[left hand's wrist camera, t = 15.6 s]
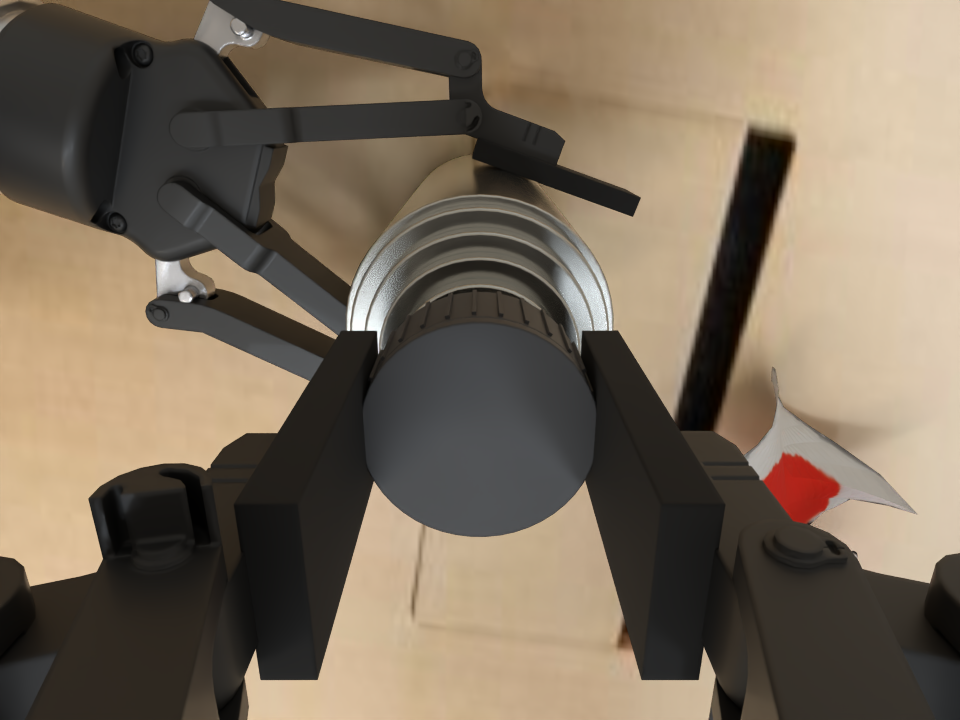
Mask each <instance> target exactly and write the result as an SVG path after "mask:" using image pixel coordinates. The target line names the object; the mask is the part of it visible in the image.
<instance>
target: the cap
mask: <svg viewBox="0 0 960 720" xmlns="http://www.w3.org/2000/svg"><path fill="white" fill-rule="evenodd" d="M586 372H587V371H586V368H585V366H584V363H583V361H582V359H581V356H580V354H579V351H578V349H577V346H576V344H575V342H572V343H571V341H570V339H569V338H568V336H567V335H566V333H565V331H564V328H563V326H562V325H561V323H560V324H559V325H558V324H557V323H556V322H555V321H554V320H553V319H552V318H550V317H549V316H548V315H547V314H546V311H545V310H544V309H543V308H542V309H541V310H540V309H538V308H536V307H535V306H533V305H531V304H529V303H527V302H525V299H524V298H520V299H518V298H515V297H511V296H507V295H504V294H501V292H500V291H497V293H491V292H477V290H473V292H469V293H460V294H456V295H453V294H452V293H450V294H448V297H444V298H442V299H439V300H436V301H434V302H432V303H430V301H428V302H426V305H425V306H424V307H423V308H421V309H419V310H418V311H416V312H415V313H414V314H412V315H410V314H408V315H407V316H406V319H405V321H404V322H403V323H402V324H401V325H400V326H399V327H398V328H397V330H396V331H394V330H392V332H391V333H390V336H389V338H388V341H387V343H386V346H385V348H384V350H382V349H381V350H380V352H379V354H378V357H377V359H376V361H375V364H374V366H373V369H372V371H371V374H370V376H369V378H368V381H370V382H371V383H370V385H369V388H368V390H367V393H366V395H365V398H364V401H363V423H364V437H365V452H366V465H367V468H368V470H369V472H370V474H371V476H372V478H373V480H374V481H375V483H376V484H377V486H378V487H379V488H380V490H381V491H382V493H383V494H384V495H385V496H386V497H387V498H388V499H389V500H390V501H391V502H392V503H393V504H394V505H395V506H396V507H397V508H399V509H400V510H401V511H402V512H403V513H405V514H406V515H408V516H409V517H411V518H413V519H414V520H416V521H418V522H420V523H422V524H424V525H426V526H428V527H431V528H433V529H436V530H439V531H442V532H446V533H450V534H455V535H461V536H470V537H488V536H498V535H504V534H509V533H513V532H517V531H520V530H523V529H526V528H529V527H531V526H533V525H535V524H537V523H539V522H541V521H543V520H545V519H546V518H548V517H549V516H551V515H553V514H554V513H555V512H557V511H558V510H559V509H560V508H562V507H563V506H564V505H565V504H566V503H567V502H568V501H569V500H570V499H571V498H572V497H573V496H574V495H575V494H576V492H577V491H578V490H579V488H580V487H581V486H582V484H583V483H584V481H585V479H586V477H587V475H588V474H589V472H590V470H591V467H592V465H593V455H594V441H595V426H596V410H597V406H596V401H595V399H594V396H593V389H592V386H591V384H590V381H589V379H588V376H587V374H586Z"/></svg>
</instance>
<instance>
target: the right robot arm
mask: <svg viewBox="0 0 960 720" xmlns="http://www.w3.org/2000/svg"><path fill="white" fill-rule="evenodd" d="M270 36H272V37H275V38H278V39H281V40H284V41H287V42H290V43H293V44H297V45H301V46H305V47H310V48H315V49H319V50H324V51H329V52H333V53H338V54H343V55H347V56H352V57H357V58H361V59H366V60H371V61H375V62H380V63H385V64H389V65H394V66H399V67H403V68H408V69H413V70H417V71H422V72H427V73H431V74H436V75H441V76H445V77H449V97H450V100H436V101H415V102H394V103H374V104H353V105H332V106H312V107H289V108H267V107H266V106H265V105H264V103H263V102H262V101H261V99H260V98H259V97H258V96H257V94H256V93H255V92H254V90H253V89H252V88H251V86H250V85H249V84H248V82H247V81H246V80H245V78H244V77H243V76H242V75H241V73H240V72H239V71H238V69H237V68H236V67H235V65H234V64H233V63H232V61H231V60H230V59H229V57H228V54H229V53H230V51H231V50H232V49H234V48H235V47H238V46H244V47H248V48H252V49H259V48H261V47H263V46H264V45H265V44H266V43H267V41H268V39H269V37H270ZM458 134H466V135H469V136H472V137H474V138H477V142H476V145H475V148H474V151H473V154H472V159H474V160H477V161H480V162H482V163H485V164H488V165H491V166H494V167H496V168H499V169H502V170H505V171H507V172H510V173H513V174H516V175H519V176H521V177H524V178H527V179H530V180H532V181H535V182H538V183H541V184H543V185H546V186H549V187H552V188H555V189H557V190H560V191H563V192H566V193H568V194H571V195H574V196H577V197H580V198H582V199H585V200H588V201H591V202H593V203H596V204H599V205H602V206H604V207H607V208H610V209H613V210H616V211H618V212H621V213H624V214H627V215H629V216H632V217H633V215H634V213H635V210H636V208H637V206H638V203H639V201H640V199H641V198H640V197H639V196H637V195H635V194H633V193H631V192H629V191H628V190H626V189H623V188H620V187H618V186H615V185H612V184H609V183H607V182H604V181H601V180H598V179H596V178H593V177H590V176H587V175H585V174H582V173H579V172H576V171H574V170H571V169H568V168H566V167H563V166H560V165H557V162H558V159H559V156H560V154H561V151H562V148H563V145H564V143H565V140H563V139H562V138H561V137H560V136H559V135H558V134H557V133H556V132H555V131H553V130H550V129H548V128H545V127H542V126H539V125H537V124H534V123H531V122H529V121H526V120H523V119H521V118H518V117H515V116H513V115H510V114H507V113H504V112H502V111H499V110H496V109H494V108H493V107H491V106H490V105H489V104H488V103H487V102H486V100H485V98H484V96H483V92H482V60H481V54H480V51H479V49H478V48H477V47H476V46H475V45H474V44H473V43H471V42H469V41H465V40H460V39H455V38H451V37H446V36H442V35H437V34H433V33H428V32H423V31H419V30H414V29H410V28H405V27H400V26H396V25H391V24H387V23H382V22H378V21H373V20H368V19H364V18H359V17H355V16H350V15H345V14H341V13H336V12H332V11H327V10H322V9H318V8H313V7H309V6H304V5H300V4H295V3H290V2H286V1H281V0H210V1H209V3H208V5H207V8H206V10H205V13H204V15H203V18H202V20H201V23H200V25H199V28H198V30H197V32H196V35H195V37H194V39H181V40H177V41H172V42H164V41H160V40H157V39H155V38H152V37H149V36H146V35H143V34H141V33H138V32H135V31H132V30H130V29H127V28H124V27H121V26H118V25H116V24H113V23H110V22H107V21H105V20H102V19H99V18H96V17H93V16H91V15H88V14H85V13H82V12H79V11H77V10H74V9H71V8H68V7H66V6H63V5H60V4H54V3H47V4H44V3H43V2H42V1H41V0H0V194H4V195H5V196H6V197H8V198H9V199H11V200H13V201H15V202H17V203H20V204H23V205H26V206H29V207H32V208H35V209H38V210H41V211H44V212H47V213H50V214H53V215H57V216H60V217H63V218H66V219H69V220H72V221H75V222H78V223H81V224H84V225H87V226H90V227H93V228H96V229H100V230H103V231H107V232H111V233H114V234H118V235H121V236H124V237H126V238H127V239H129V240H131V241H132V242H134V243H135V244H136V245H138V246H139V247H140V248H141V249H142V250H143V251H144V252H145V253H146V254H147V255H149V256H150V257H152V258H154V259H155V264H156V284H157V298H156V299H154V300H152V301H151V302H149V304H148V305H147V306H146V316H147V318H148V320H149V321H150V322H151V323H152V324H153V325H155V326H157V327H161V328H168V329H177V330H186V331H194V332H203V333H205V334H207V335H209V336H212V337H214V338H216V339H218V340H220V341H223V342H225V343H227V344H229V345H231V346H234V347H236V348H238V349H240V350H243V351H245V352H247V353H249V354H251V355H254V356H256V357H258V358H260V359H262V360H265V361H267V362H269V363H271V364H274V365H276V366H278V367H280V368H282V369H285V370H287V371H289V372H291V373H293V374H296V375H298V376H300V377H302V378H305V379H307V380H309V381H310V380H311V379H312V377H313V375H314V374H315V372H316V371H317V369H318V367H319V366H320V364H321V363H322V361H323V359H324V358H325V356H326V354H327V353H328V351H329V350H330V348H331V346H332V345H333V343H334V342H335V339H333V338H331V337H329V336H327V335H324V334H322V333H320V332H318V331H316V330H314V329H312V328H309V327H307V326H305V325H303V324H301V323H299V322H297V321H294V320H292V319H290V318H288V317H286V316H284V315H282V314H279V313H277V312H275V311H273V310H271V309H269V308H266V307H264V306H262V305H260V304H258V303H256V302H254V301H251V300H249V299H247V298H245V297H243V296H240V295H238V294H235V293H233V292H229V291H226V290H222V289H216V288H215V285H214V281H213V280H212V278H210V277H208V276H207V275H204V274H202V273H199V272H197V271H196V270H195V269H194V268H193V267H192V266H191V264H190V261H189V257H192V256H196V255H199V254H202V253H205V252H208V251H211V250H215V249H218V250H220V251H221V252H222V253H224V254H225V255H226V256H227V257H229V258H230V259H231V260H233V261H234V262H235V263H237V264H238V265H239V266H241V267H242V268H244V269H245V270H247V271H249V272H253V273H257V274H259V275H260V276H262V277H263V278H264V279H265V280H267V281H268V282H269V283H271V284H272V285H273V286H275V287H276V288H277V289H278V290H280V291H281V292H282V293H284V294H285V295H286V296H288V297H289V298H290V299H291V300H293V301H294V302H295V303H297V304H298V305H299V306H301V307H302V308H303V309H305V310H306V311H307V312H308V313H310V314H311V315H312V316H314V317H315V318H316V319H318V320H319V321H320V322H321V323H323V324H324V325H325V326H327V327H328V328H329V329H331V330H332V331H333V332H334V333H336V334H337V335H339V333H340V332H341V331H346V309H347V302H348V296H349V292H350V289H351V286H349V285H348V284H347V283H346V282H344V281H343V280H342V279H341V278H339V277H338V276H337V275H336V274H334V273H333V272H332V271H330V270H329V269H328V268H327V267H325V266H324V265H323V264H322V263H320V262H319V261H318V260H317V259H315V258H314V257H313V256H312V255H310V254H309V253H308V252H307V251H305V250H304V249H303V248H301V247H300V246H299V245H298V244H296V243H295V242H294V241H293V240H292V239H291V238H290V236H289V234H288V233H287V231H286V230H284V229H283V228H282V227H281V226H280V225H278V224H277V223H276V222H275V221H273V220H272V219H271V218H272V213H273V209H274V205H275V185H274V183H275V180H276V178H277V176H278V174H279V172H280V171H281V169H282V167H283V165H284V162H285V157H286V153H287V149H288V146H287V145H284V143H295V142H311V141H332V140H353V139H374V138H395V137H416V136H437V135H458Z"/></svg>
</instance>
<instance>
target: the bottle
mask: <svg viewBox="0 0 960 720" xmlns="http://www.w3.org/2000/svg"><path fill="white" fill-rule="evenodd" d="M473 290H477V292H491V293H497V291H500V292H501V294H504V295H507V296H511V297H515V298H518V299H520V298H524V299H525V302H527V303H529V304H531V305H533V306H535V307H536V308H538V309H540V310H541V309H542V308H543V309H544V310H545V311H546V314H547V315H548V316H549V317H550V318H552V319H553V320H554V321H555V322H556V323H557V324H558V325H559V324H560V323H561V325H562V326H563V328H564V331H565V333H566V335H567V336H568V338H569V339H570V341H571V343H572V342H575V344H576V346H577V349H578V351H579V354H580V356H581V340H582V331H613V308H612V300H611V295H610V292H609V288H608V284H607V281H606V279H605V276H604V274H603V272H602V269H601V267H600V265H599V263H598V262H597V260H596V258H595V257H594V255H593V253H592V252H591V250H590V249H589V248H588V246H587V245H586V244H585V243H584V241H583V240H582V239H581V237H580V236H579V235H578V234H577V232H576V231H575V230H574V228H573V227H572V226H571V225H570V223H569V222H568V221H567V220H566V218H565V217H564V216H563V214H562V213H561V212H560V211H559V209H558V208H557V207H556V205H555V204H554V203H553V202H552V200H551V199H550V198H549V197H548V195H547V194H546V193H545V191H544V190H543V189H542V188H541V186H540V185H539V184H538V183H537V182H535V181H532V180H530V179H527V178H524V177H521V176H519V175H516V174H513V173H510V172H507V171H505V170H502V169H499V168H496V167H494V166H491V165H488V164H485V163H482V162H480V161H477V160H474V159H472V154H470V155H465V156H460V157H457V158H455V159H452V160H450V161H448V162H446V163H444V164H442V165H441V166H439V167H438V168H436V169H435V170H434V171H432V172H431V173H430V174H429V175H428V176H427V177H426V178H425V180H424V181H423V182H422V183H421V184H420V186H419V187H418V188H417V189H416V191H415V192H414V193H413V195H412V196H411V197H410V198H409V200H408V201H407V202H406V203H405V205H404V206H403V207H402V208H401V210H400V211H399V212H398V214H397V215H396V216H395V217H394V219H393V220H392V221H391V222H390V224H389V225H388V226H387V228H386V229H385V230H384V231H383V233H382V234H381V235H380V236H379V238H378V239H377V240H376V241H375V243H374V244H373V245H372V247H371V248H370V249H369V250H368V252H367V254H366V255H365V257H364V259H363V260H362V262H361V263H360V265H359V267H358V270H357V272H356V274H355V277H354V279H353V281H352V285H351V289H350V292H349V296H348V302H347V309H346V331H377V336H378V354H379V352H380V350H381V349H382V350H384V348H385V346H386V343H387V341H388V338H389V336H390V333H391V332H392V330H394V331H396V330H397V328H398V327H399V326H400V325H401V324H402V323H403V322H404V321H405V319H406V316H407V315H408V314H410V315H412V314H414V313H415V312H416V311H418V310H419V309H421V308H423V307H424V306H425V305H426V302H428V301H430V303H432V302H434V301H436V300H439V299H442V298H444V297H448V294H450V293H452V294H453V295H456V294H460V293H469V292H473Z"/></svg>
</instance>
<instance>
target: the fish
mask: <svg viewBox="0 0 960 720" xmlns="http://www.w3.org/2000/svg"><path fill="white" fill-rule="evenodd" d="M771 381H772V383H773V386H774V391H775V396H776V405H777V407H776V412H775V416H774V421H773V425H772V428H771V429H770V430H769V431H768V432H767V434H766V435H765V436H764V437H763V439H762V440H761V441H760V442H759V443H758V445H757V446H755V447H754V448H753V449H751V450H750V451H749V452H747V453H746V454H745V455H744V457H745V458H746V459H747V461H748V462H749V466H752V467H753V469H754V470H755V471H756V473H757V474H758V475H759V479H760V480H762V481H763V482H764V483H765V484H766V486H767V487H768V488H769V490H770V491H771V492H772V494H773V495H774V496H775V498H776V499H777V500H778V502H779V503H780V504H781V506H782V507H783V508H784V510H785V511H786V512H787V513H788V515H789V516H790V517H791V519H792V520H793V521H795V522H800V523H805V524H808V525H810V524H811V523H812V522H813V521H814V520H815V519H816V518H818V517H819V516H820V515H821V514H822V513H823V512H824V511H827V510H829V509H831V508H834V507H836V506H838V505H840V504H842V503H844V502H846V501H848V500H850V499H854V500H860V501H865V502H871V503H876V504H882V505H888V506H891V507H895V508H898V509H901V510H904V511H908V512H911V513H914V514H917V513H916V512H915V511H914V510H913V509H912V508H911V507H910V506H909V505H908V504H907V503H906V501H905V500H904V499H903V498H902V497H901V496H900V495H899V494H898V493H897V492H896V491H895V490H894V489H893V488H892V487H891V486H890V484H889V483H888V482H887V481H886V480H885V479H884V478H883V477H882V476H881V475H880V474H879V473H877V472H876V471H874V470H873V469H872V468H870V467H869V466H867V465H866V464H865V463H863V462H862V461H860V460H859V459H858V458H856V457H855V456H853V455H852V454H851V453H849V452H848V451H846V450H845V449H844V448H842V447H841V446H839V445H838V444H837V443H835V442H834V441H832V440H830V439H829V438H827V437H826V436H824V435H823V434H821V433H820V432H818V431H816V430H815V429H813V428H812V427H810V426H809V425H807V424H806V423H804V422H803V421H802V420H800V419H799V418H798V417H796V416H795V415H794V414H792V413H791V412H790V411H788V410H787V409H786V408H784V407H783V405H782V403H781V401H780V399H779V397H778V394H779V389H778V382H777V376H776V371H775V369H774V368H773V367H772V378H771ZM852 553H853V554H854V555H855V556H856V558H857V553H856V552H855V551H852Z"/></svg>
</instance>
